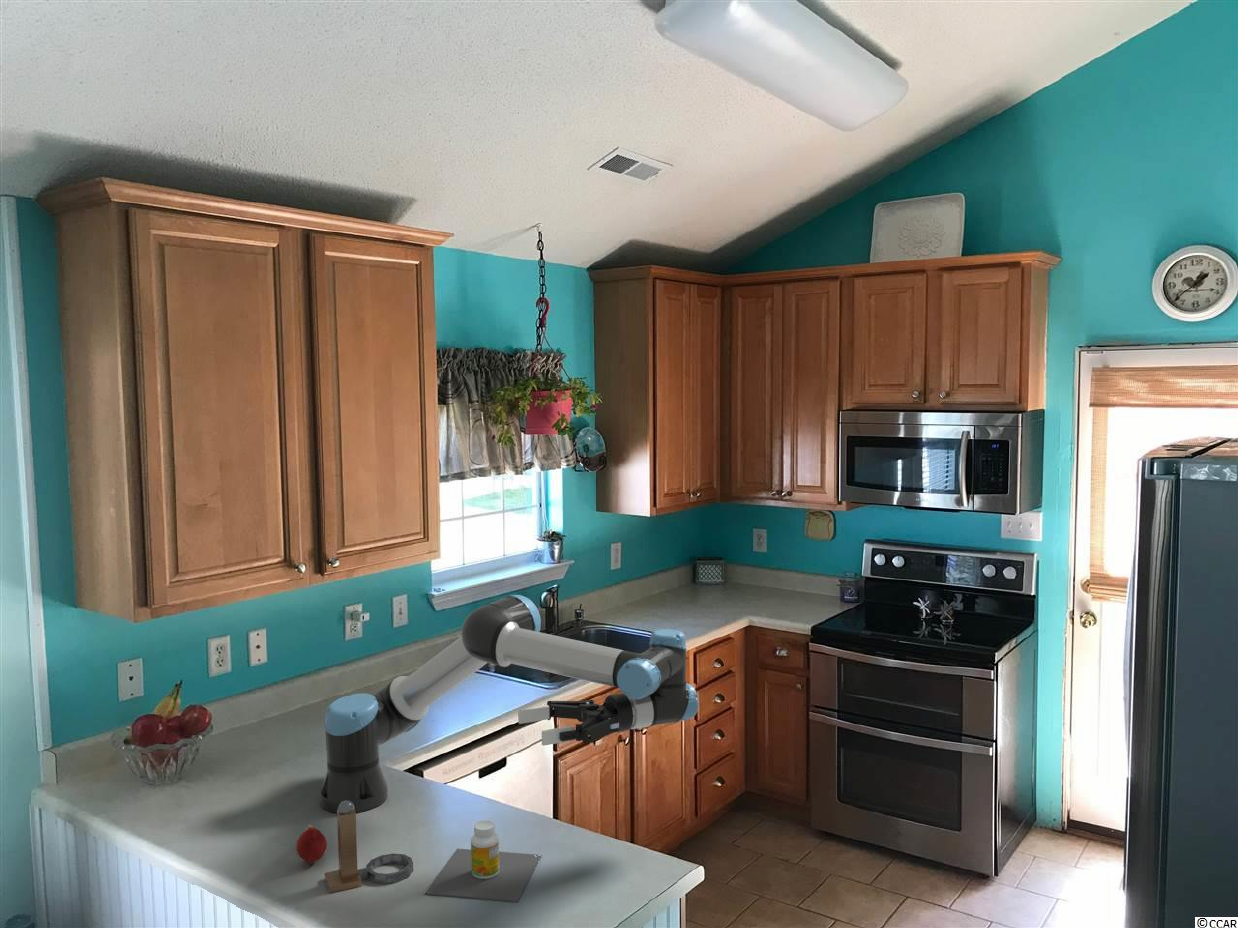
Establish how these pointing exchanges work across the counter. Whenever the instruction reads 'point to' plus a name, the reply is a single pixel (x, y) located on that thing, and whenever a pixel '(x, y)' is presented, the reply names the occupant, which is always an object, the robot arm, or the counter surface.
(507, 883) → the mat
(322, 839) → the onion
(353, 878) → the ring stand
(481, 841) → the supplement bottle
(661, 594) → the counter surface
